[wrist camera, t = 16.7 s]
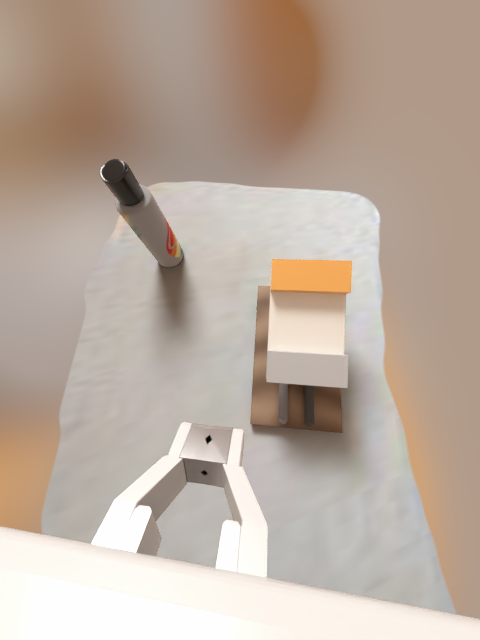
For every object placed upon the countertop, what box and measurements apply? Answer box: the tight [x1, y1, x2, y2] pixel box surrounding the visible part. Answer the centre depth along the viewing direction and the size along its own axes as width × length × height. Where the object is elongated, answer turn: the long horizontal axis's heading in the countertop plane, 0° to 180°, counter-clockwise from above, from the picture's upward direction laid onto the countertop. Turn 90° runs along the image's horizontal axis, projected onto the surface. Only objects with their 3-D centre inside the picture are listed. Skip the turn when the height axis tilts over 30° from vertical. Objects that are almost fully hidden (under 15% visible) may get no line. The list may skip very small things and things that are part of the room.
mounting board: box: [250, 286, 342, 433], centre depth 39 cm, size 24×14×2 cm, turn 175°
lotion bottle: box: [100, 159, 183, 267], centre depth 38 cm, size 6×6×20 cm
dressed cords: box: [278, 383, 314, 427], centre depth 36 cm, size 13×5×1 cm, turn 176°
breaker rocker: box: [266, 259, 352, 388], centre depth 30 cm, size 16×10×3 cm, turn 175°
